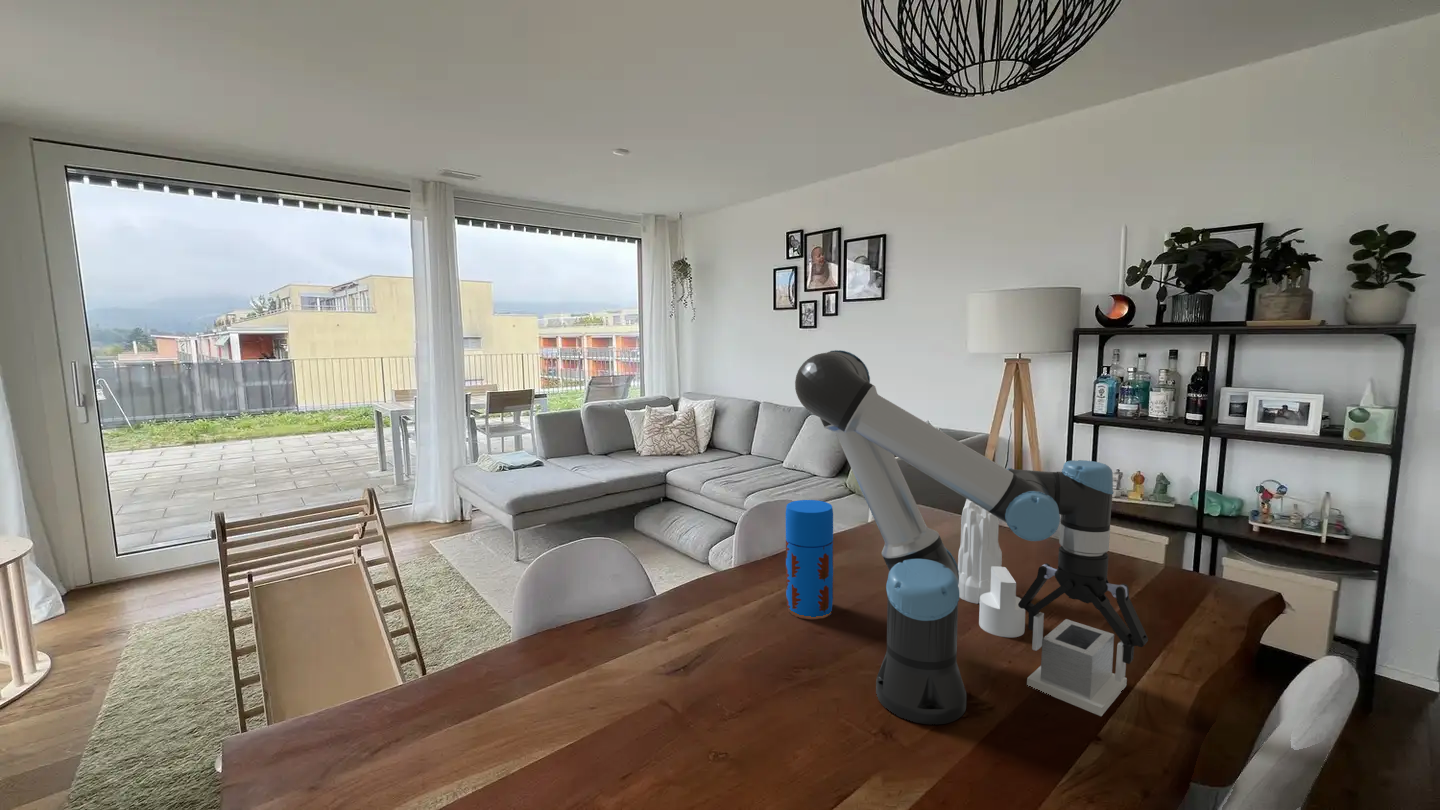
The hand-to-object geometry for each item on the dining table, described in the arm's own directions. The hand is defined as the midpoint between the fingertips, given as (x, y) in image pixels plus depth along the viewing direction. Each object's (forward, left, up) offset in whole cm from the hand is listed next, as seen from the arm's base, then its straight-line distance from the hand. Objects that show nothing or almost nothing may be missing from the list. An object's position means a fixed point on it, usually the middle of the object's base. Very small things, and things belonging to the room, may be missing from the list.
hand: (1076, 662), depth 109 cm
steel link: (0, 0, -3) cm, 3 cm away
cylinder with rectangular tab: (+12, +19, -5) cm, 23 cm away
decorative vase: (+24, +30, -5) cm, 39 cm away
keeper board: (0, 0, -5) cm, 5 cm away
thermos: (-12, +53, -5) cm, 54 cm away
